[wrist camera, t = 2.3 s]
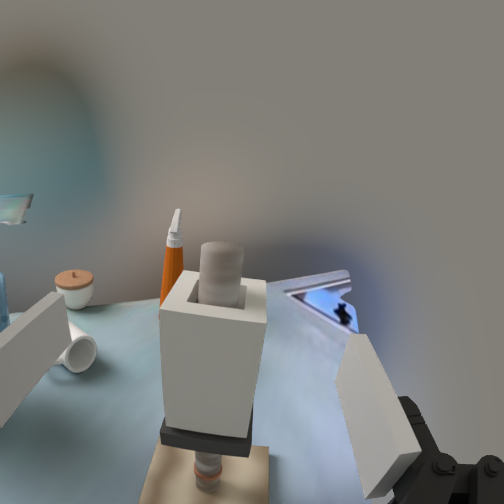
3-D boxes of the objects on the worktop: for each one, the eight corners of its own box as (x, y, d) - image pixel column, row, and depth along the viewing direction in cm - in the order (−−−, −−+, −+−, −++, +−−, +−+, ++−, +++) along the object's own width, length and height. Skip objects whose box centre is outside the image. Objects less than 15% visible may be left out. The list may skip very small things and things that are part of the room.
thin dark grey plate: (161, 444, 24) (159, 432, 23) (178, 390, 31) (178, 376, 31) (248, 457, 24) (251, 446, 23) (251, 400, 31) (253, 387, 31)
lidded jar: (103, 304, 75) (100, 271, 73) (72, 318, 66) (68, 284, 63) (80, 291, 79) (77, 260, 77) (51, 303, 70) (46, 271, 67)
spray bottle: (189, 305, 82) (194, 208, 74) (185, 327, 72) (190, 217, 64) (163, 303, 81) (165, 205, 73) (156, 324, 71) (157, 215, 63)
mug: (72, 341, 58) (66, 310, 55) (100, 362, 54) (94, 329, 52) (30, 363, 47) (20, 330, 45) (54, 389, 44) (44, 355, 41)
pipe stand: (136, 524, 25) (58, 274, 14) (161, 439, 40) (152, 214, 29) (265, 543, 25) (368, 316, 14) (266, 453, 40) (317, 233, 29)
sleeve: (166, 425, 23) (159, 308, 20) (181, 377, 30) (183, 270, 26) (246, 438, 23) (266, 323, 20) (249, 386, 30) (265, 280, 26)
